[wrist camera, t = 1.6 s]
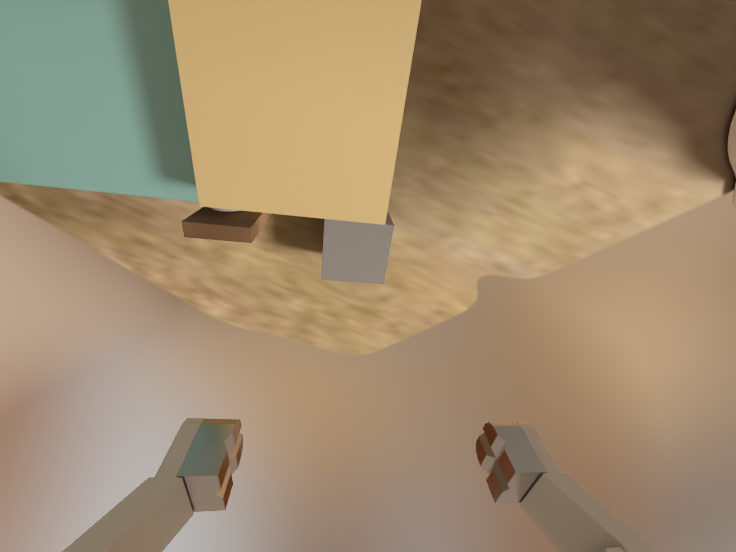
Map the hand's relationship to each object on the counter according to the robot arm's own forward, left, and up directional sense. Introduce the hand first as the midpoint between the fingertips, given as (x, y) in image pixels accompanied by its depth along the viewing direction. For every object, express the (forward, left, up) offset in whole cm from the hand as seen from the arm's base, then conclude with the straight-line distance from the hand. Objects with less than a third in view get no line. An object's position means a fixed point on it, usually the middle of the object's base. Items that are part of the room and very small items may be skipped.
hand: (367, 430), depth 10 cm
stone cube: (0, 0, -19) cm, 19 cm away
